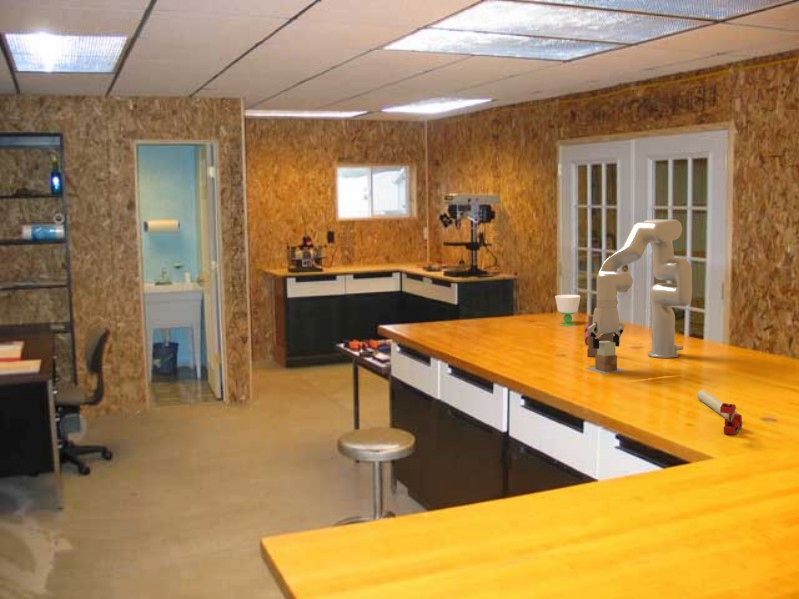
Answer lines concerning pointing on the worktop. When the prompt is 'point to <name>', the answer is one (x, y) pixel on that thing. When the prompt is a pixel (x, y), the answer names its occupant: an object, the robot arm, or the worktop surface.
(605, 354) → the cream cube
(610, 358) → the walnut block
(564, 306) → the cup
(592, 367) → the build pad
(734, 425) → the red clamp
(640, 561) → the worktop surface
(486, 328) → the worktop surface
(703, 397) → the paper tube
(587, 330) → the artery
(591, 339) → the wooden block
